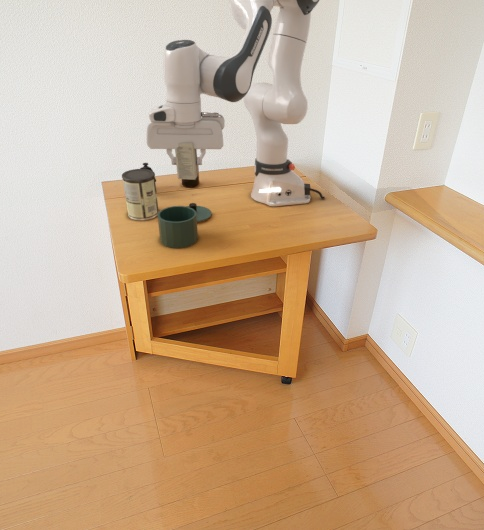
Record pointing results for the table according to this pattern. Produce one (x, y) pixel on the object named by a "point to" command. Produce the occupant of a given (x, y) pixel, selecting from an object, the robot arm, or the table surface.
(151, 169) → the controller
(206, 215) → the dark green lid
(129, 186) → the coffee can
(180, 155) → the small printed carton
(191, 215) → the dark green round container
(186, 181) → the supplement bottle
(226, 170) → the table surface
